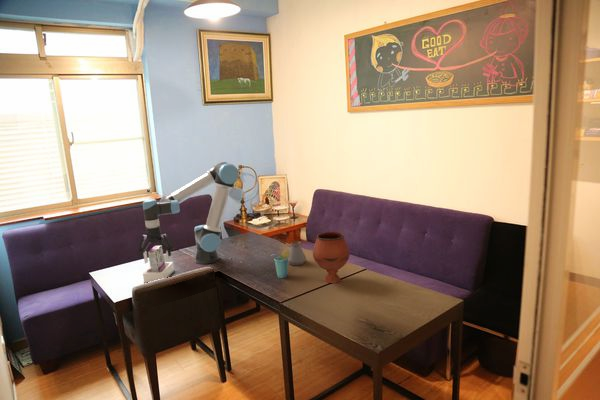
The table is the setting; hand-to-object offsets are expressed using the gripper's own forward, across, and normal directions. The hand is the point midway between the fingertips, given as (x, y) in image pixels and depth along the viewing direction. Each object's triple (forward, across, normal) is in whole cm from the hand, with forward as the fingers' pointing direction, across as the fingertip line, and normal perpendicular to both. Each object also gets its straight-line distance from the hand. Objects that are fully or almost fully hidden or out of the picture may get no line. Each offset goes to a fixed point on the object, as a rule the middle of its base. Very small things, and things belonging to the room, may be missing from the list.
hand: (157, 262), depth 236 cm
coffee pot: (+9, -76, -13) cm, 78 cm away
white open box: (+9, 0, 0) cm, 9 cm away
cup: (+9, -72, +10) cm, 73 cm away
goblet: (+9, -100, +18) cm, 102 cm away
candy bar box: (+8, 0, 0) cm, 8 cm away
